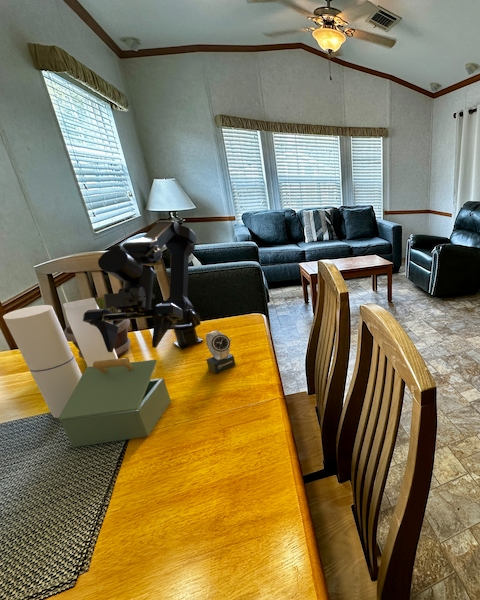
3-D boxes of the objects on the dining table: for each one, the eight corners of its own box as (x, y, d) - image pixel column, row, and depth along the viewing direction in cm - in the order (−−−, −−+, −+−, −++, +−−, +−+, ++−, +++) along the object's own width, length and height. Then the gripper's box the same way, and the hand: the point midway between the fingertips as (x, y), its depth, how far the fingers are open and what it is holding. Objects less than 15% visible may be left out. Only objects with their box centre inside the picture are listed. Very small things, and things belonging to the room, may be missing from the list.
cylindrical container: (68, 419, 74) (20, 320, 65) (43, 415, 75) (-7, 317, 66) (100, 399, 80) (61, 306, 71) (77, 396, 82) (36, 304, 72)
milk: (122, 374, 90) (95, 300, 82) (93, 383, 87) (61, 307, 78) (120, 365, 95) (94, 294, 86) (93, 373, 91) (62, 300, 83)
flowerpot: (63, 372, 92) (33, 306, 84) (94, 345, 105) (70, 287, 98) (124, 363, 95) (101, 300, 88) (146, 339, 109) (127, 282, 102)
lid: (88, 368, 72) (76, 357, 69) (157, 361, 75) (148, 349, 72) (60, 420, 64) (45, 410, 61) (138, 410, 67) (128, 399, 64)
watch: (219, 376, 89) (210, 341, 85) (205, 366, 94) (196, 332, 90) (239, 367, 93) (231, 332, 89) (225, 358, 98) (217, 325, 94)
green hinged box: (107, 409, 77) (97, 385, 74) (171, 401, 80) (163, 377, 77) (72, 447, 66) (59, 421, 64) (148, 436, 69) (138, 410, 67)
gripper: (68, 278, 72) (57, 348, 68) (163, 272, 76) (158, 338, 71) (103, 295, 83) (96, 356, 78) (185, 289, 86) (182, 347, 82)
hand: (132, 349), depth 77 cm, fingers open, 9 cm apart
